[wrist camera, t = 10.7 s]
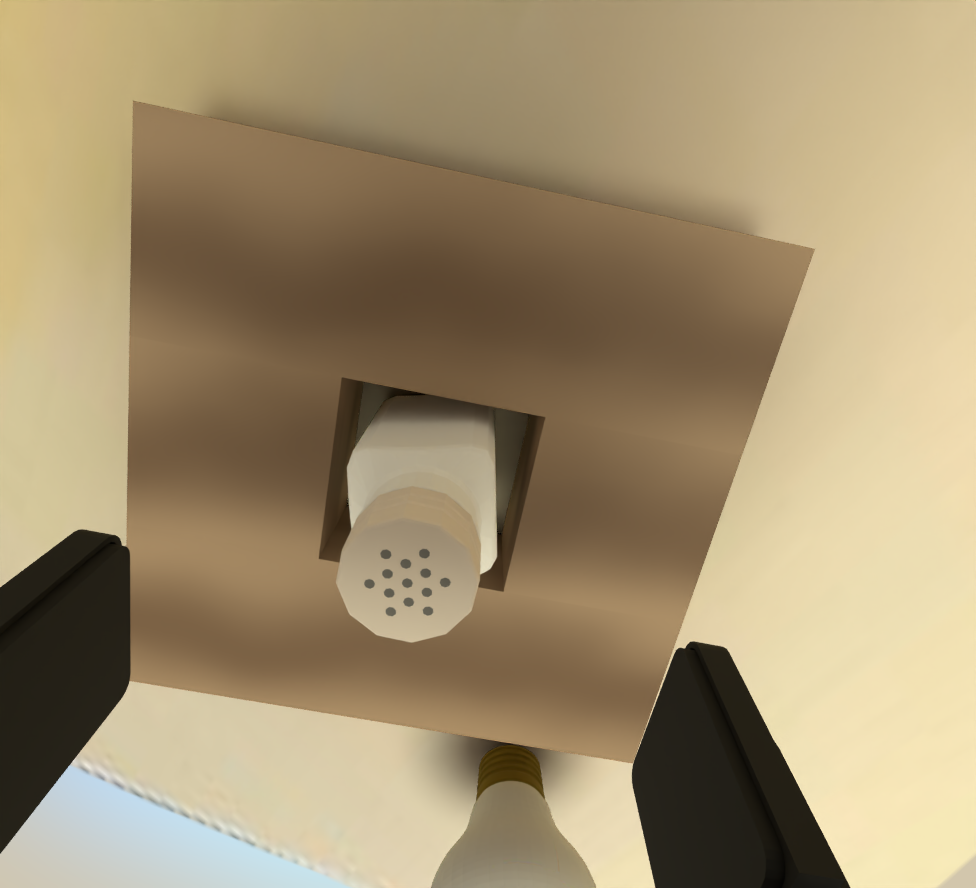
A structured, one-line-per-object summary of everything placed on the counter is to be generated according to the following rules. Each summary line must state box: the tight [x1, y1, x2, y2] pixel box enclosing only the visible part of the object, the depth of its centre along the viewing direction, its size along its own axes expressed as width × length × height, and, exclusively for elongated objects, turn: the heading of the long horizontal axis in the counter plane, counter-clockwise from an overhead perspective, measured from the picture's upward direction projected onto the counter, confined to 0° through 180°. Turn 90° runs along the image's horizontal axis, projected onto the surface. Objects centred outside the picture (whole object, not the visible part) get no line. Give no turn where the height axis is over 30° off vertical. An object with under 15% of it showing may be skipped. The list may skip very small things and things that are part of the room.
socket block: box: [127, 101, 815, 763], centre depth 21 cm, size 18×18×4 cm
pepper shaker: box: [336, 395, 497, 643], centre depth 18 cm, size 4×4×10 cm
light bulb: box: [431, 745, 596, 888], centre depth 23 cm, size 6×6×10 cm
